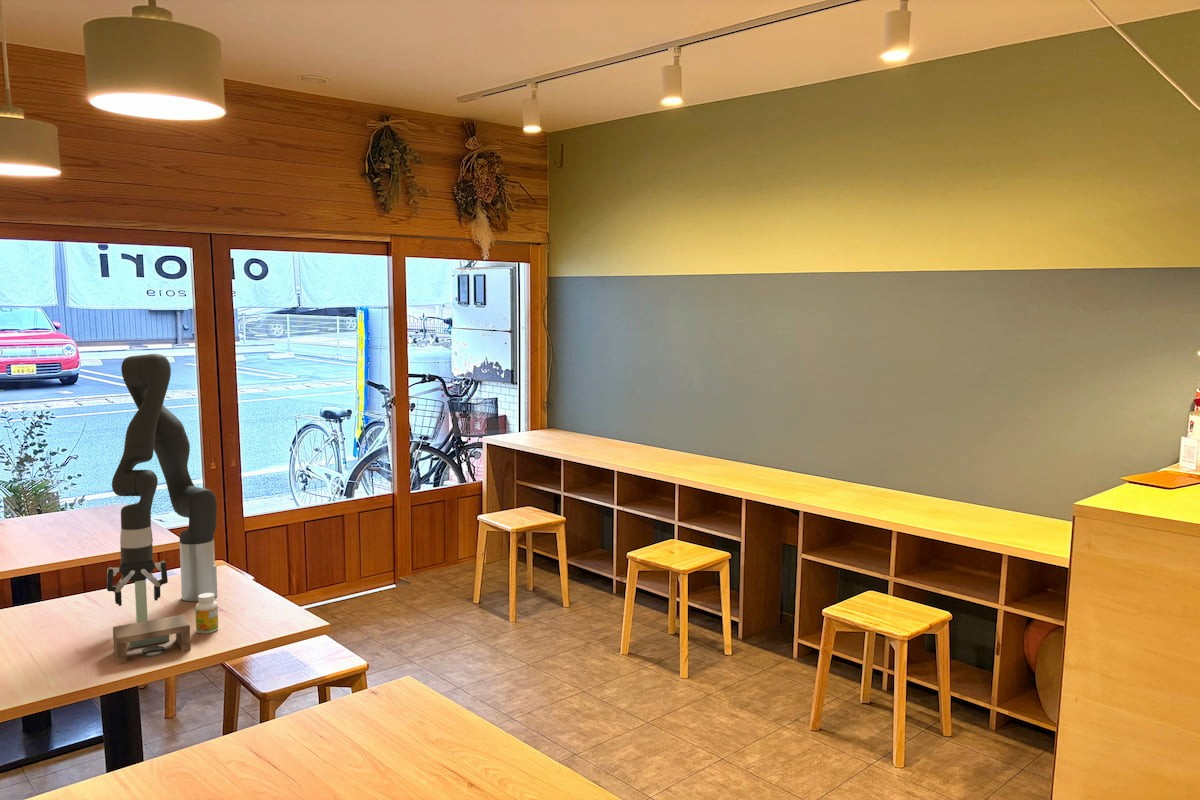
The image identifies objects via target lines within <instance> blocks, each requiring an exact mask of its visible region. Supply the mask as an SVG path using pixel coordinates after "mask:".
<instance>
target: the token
mask: <svg viewBox="0 0 1200 800" xmlns="http://www.w3.org/2000/svg"><path fill="white" fill-rule="evenodd" d="M165 650H166V649H165V646H163V645H151V646H150V645H149V646H148V647H145V648H143V649H141V657H144V658H155V657H158V656H161V655H163V654H164V653H165V652H166V651H165Z"/></svg>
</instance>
